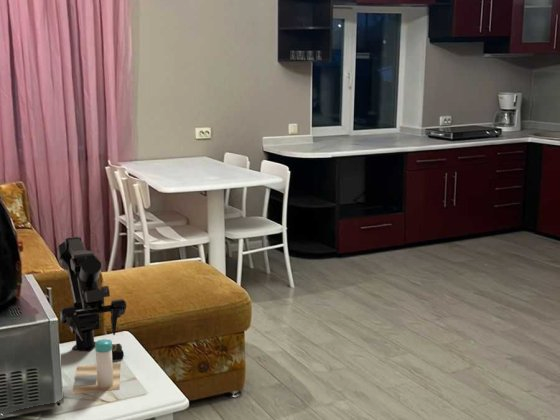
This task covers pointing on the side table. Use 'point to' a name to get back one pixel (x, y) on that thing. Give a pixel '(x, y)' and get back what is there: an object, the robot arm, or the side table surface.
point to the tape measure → (117, 351)
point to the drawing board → (93, 379)
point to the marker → (104, 363)
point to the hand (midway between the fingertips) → (98, 337)
